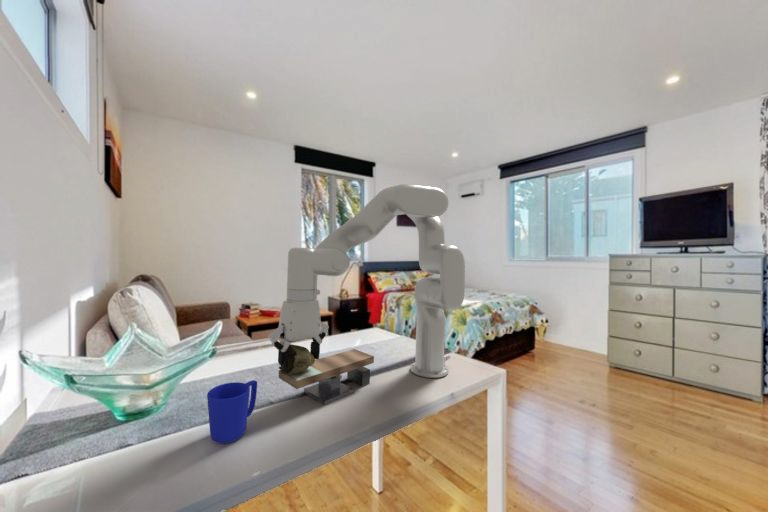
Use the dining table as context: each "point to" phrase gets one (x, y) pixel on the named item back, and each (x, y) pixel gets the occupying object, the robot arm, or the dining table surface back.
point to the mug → (230, 410)
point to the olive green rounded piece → (297, 360)
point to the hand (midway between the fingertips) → (299, 361)
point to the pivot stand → (338, 386)
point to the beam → (328, 368)
